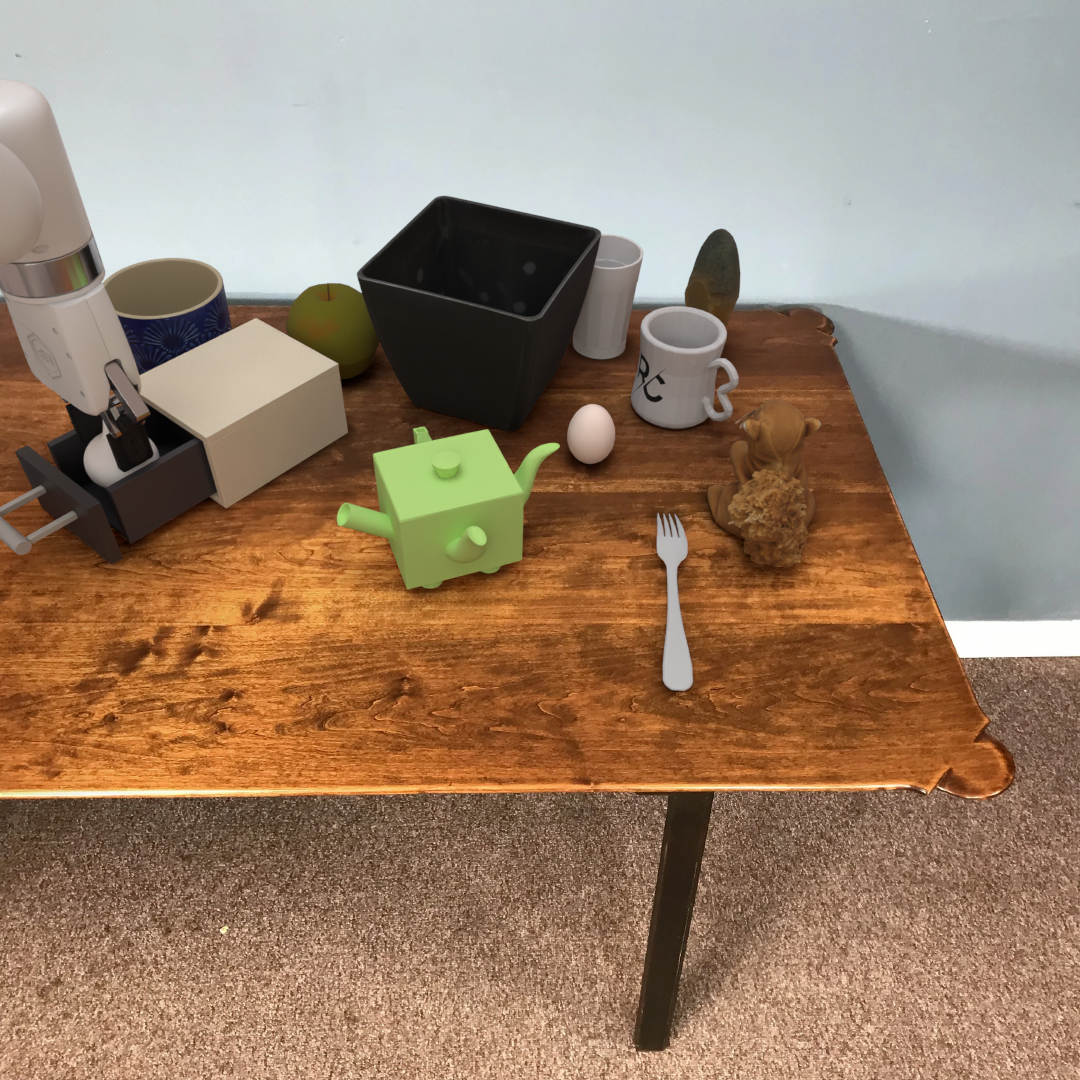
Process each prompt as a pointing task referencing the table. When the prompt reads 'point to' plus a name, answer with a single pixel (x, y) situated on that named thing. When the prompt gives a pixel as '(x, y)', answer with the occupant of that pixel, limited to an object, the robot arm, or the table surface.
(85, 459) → the garlic bulb
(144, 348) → the planter
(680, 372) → the mug
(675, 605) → the fork
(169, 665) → the table surface
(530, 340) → the flower pot
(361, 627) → the table surface
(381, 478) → the kettle
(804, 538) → the stuffed squirrel
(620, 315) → the cup
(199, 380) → the cabinet
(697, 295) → the decorative stone
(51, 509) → the drawer
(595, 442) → the egg
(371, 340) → the apple
